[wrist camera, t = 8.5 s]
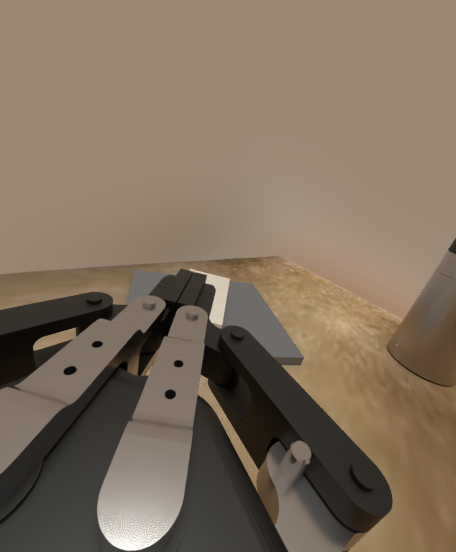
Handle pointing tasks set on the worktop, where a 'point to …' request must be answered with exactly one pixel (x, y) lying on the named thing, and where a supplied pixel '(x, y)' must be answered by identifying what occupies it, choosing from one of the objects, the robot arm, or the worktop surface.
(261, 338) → the mat
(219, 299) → the tile
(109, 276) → the worktop surface
